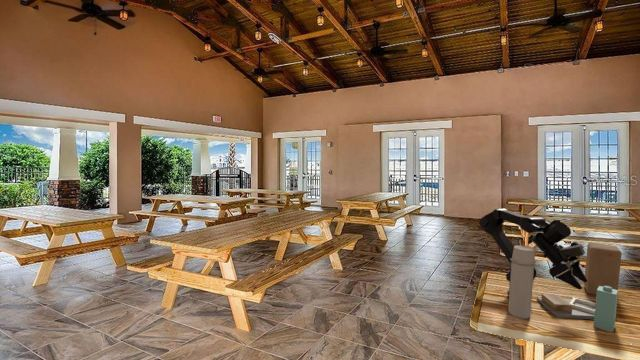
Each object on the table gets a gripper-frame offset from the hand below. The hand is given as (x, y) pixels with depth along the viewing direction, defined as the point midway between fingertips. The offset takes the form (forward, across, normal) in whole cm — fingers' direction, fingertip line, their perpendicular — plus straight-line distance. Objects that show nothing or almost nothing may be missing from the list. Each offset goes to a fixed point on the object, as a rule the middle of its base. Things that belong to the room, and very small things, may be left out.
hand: (583, 285), depth 120 cm
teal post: (+14, 0, +4) cm, 14 cm away
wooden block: (+10, +35, +9) cm, 37 cm away
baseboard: (+7, +8, +11) cm, 15 cm away
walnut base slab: (+2, +4, +14) cm, 15 cm away
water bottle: (-3, -12, +21) cm, 24 cm away
